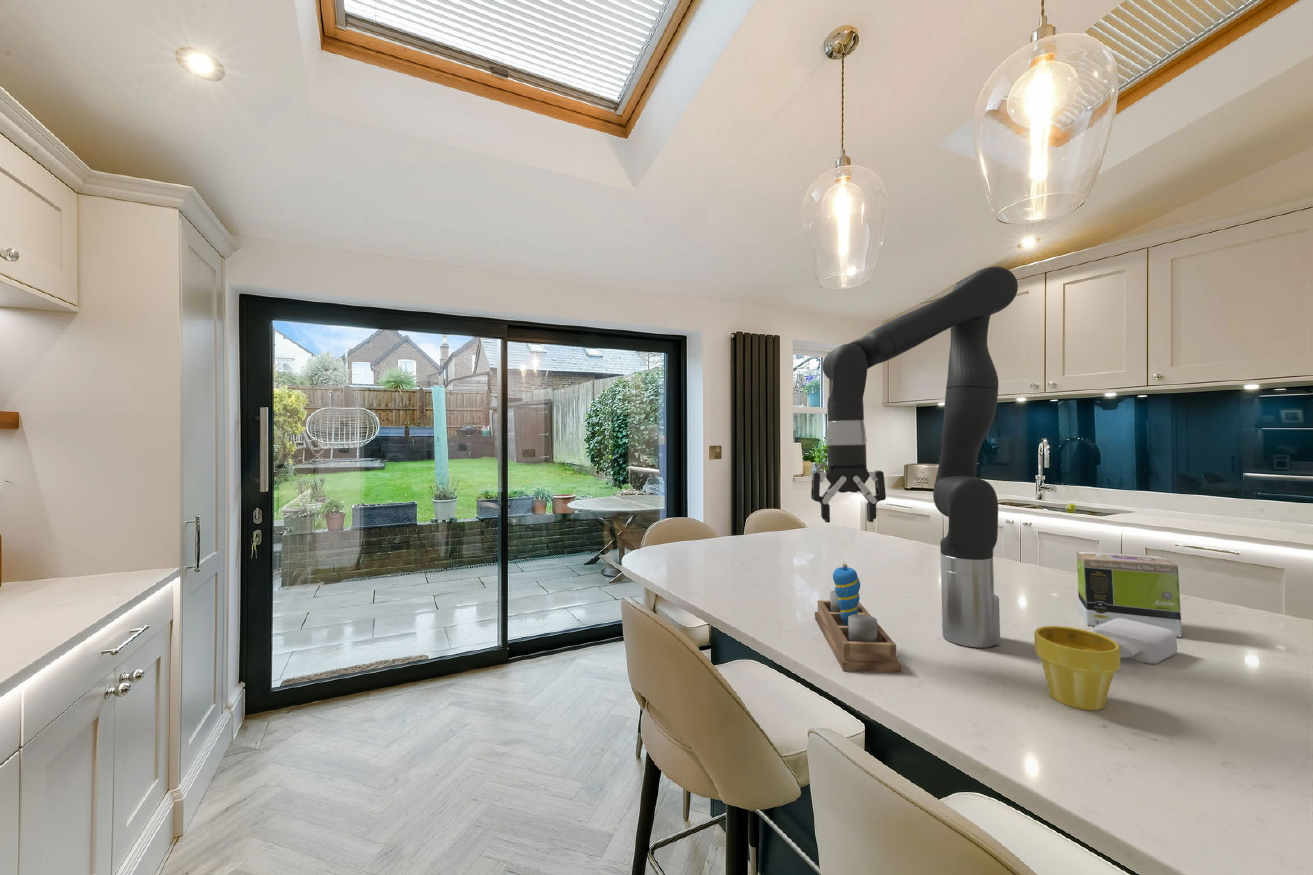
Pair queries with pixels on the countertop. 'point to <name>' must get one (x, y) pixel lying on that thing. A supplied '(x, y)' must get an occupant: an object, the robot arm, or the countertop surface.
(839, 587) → the ornament
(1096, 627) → the charger
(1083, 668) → the plant pot
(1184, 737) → the countertop surface
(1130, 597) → the tea box
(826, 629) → the wooden compartment tray
